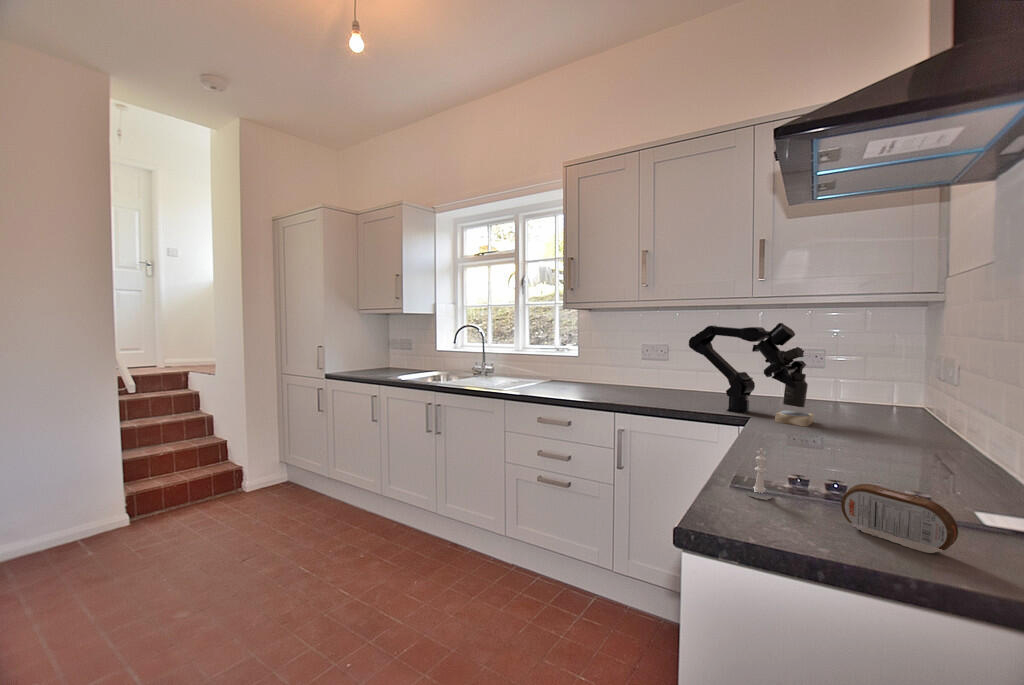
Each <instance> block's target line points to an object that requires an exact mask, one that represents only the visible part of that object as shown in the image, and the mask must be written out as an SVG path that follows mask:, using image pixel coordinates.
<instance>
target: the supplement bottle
mask: <svg viewBox="0 0 1024 685" xmlns="http://www.w3.org/2000/svg"><path fill="white" fill-rule="evenodd" d="M790 377H791V379H792V380H793V382H794V383H795V385H796V386H797V387H796V388H795V389H794V388H792V387H790V386H788V385H786V384H784V385H785V386H784V392H783V400H782V405H784V406H785V405H786V406H789V407H790V406H792V407H797V408H805V405H806V400H807V393H808V386H809V385H808V382H806V373H802V374H801V373H793V372H790ZM804 379H805V381H804Z"/></svg>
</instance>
